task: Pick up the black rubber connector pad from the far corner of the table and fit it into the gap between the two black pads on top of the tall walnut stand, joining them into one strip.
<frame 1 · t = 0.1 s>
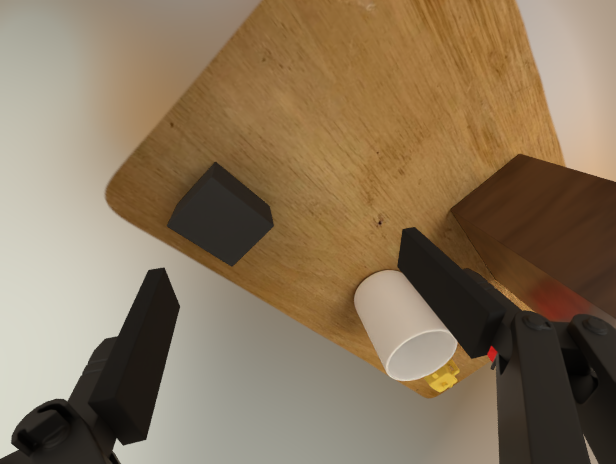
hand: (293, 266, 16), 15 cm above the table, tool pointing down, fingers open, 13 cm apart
teapot: (431, 357, 52), on the table
mug: (390, 290, 40), on the table
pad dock: (505, 225, 38), on the table
connector pad: (224, 205, 29), on the table
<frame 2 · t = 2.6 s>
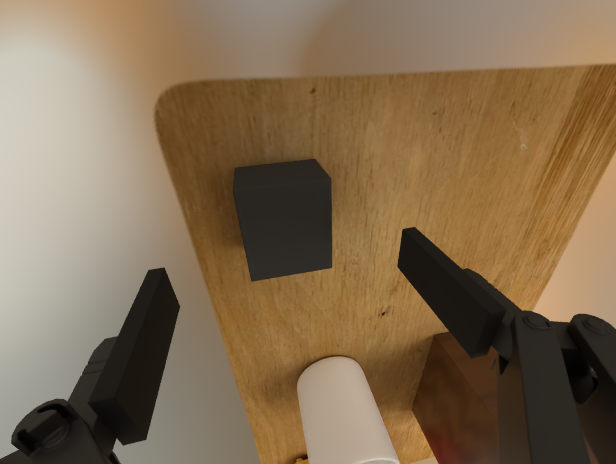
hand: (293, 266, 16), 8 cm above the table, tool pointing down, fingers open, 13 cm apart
teapot: (310, 459, 47), on the table
mug: (336, 378, 36), on the table
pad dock: (452, 369, 41), on the table
connector pad: (280, 206, 22), on the table
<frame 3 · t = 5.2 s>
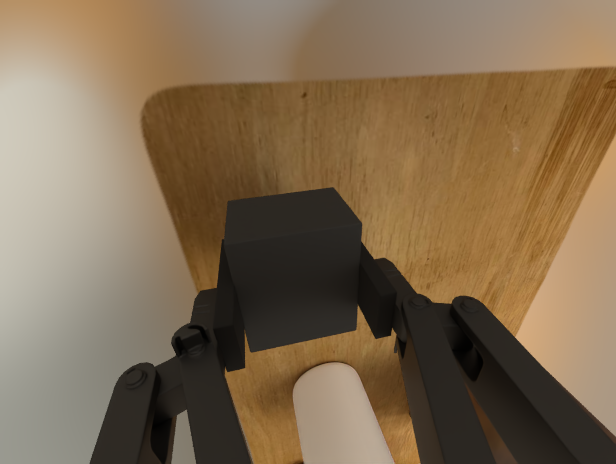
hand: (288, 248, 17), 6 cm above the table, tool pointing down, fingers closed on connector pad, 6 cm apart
mug: (332, 384, 36), on the table
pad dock: (449, 372, 41), on the table
connector pad: (287, 245, 17), point 5 cm above the table, touching gripper
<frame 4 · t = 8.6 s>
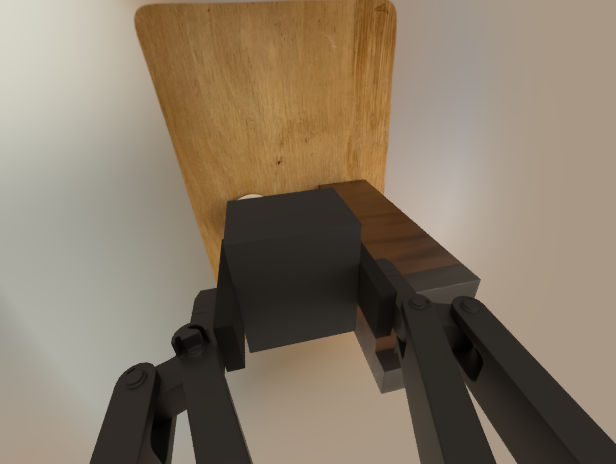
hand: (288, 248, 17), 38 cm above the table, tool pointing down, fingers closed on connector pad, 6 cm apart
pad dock: (341, 220, 62), on the table
connector pad: (287, 245, 17), point 38 cm above the table, touching gripper
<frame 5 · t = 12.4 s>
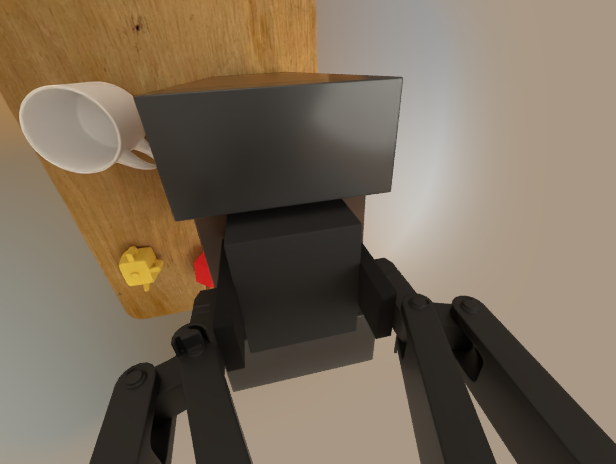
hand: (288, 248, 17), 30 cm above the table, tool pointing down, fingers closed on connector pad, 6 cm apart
teapot: (149, 257, 49), on the table
apple: (215, 256, 51), on the table
mug: (126, 126, 38), on the table
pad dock: (259, 141, 43), on the table
connector pad: (287, 246, 17), point 30 cm above the table, touching gripper, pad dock
when the fingers open (30 cm above the table, at t = 12.4 s): connector pad stays where it is, resting on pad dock.
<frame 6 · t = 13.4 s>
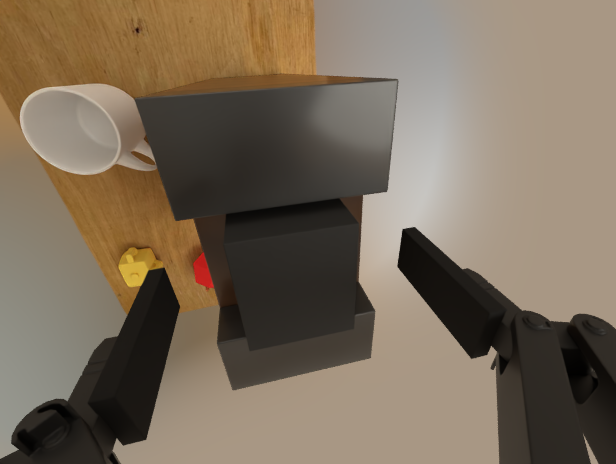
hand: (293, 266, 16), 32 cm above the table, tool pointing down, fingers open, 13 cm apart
teapot: (148, 258, 49), on the table
apple: (214, 257, 51), on the table
mug: (126, 127, 38), on the table
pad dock: (258, 142, 43), on the table
connector pad: (286, 245, 18), point 30 cm above the table, touching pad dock
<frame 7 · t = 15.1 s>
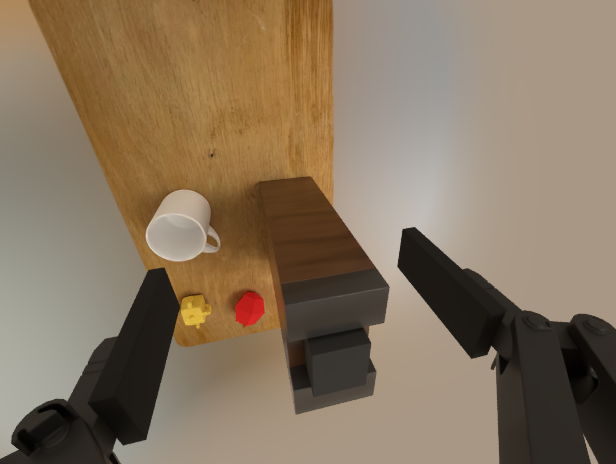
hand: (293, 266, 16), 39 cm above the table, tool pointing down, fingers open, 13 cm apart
teapot: (198, 301, 63), on the table
apple: (248, 299, 66), on the table
mug: (195, 214, 53), on the table
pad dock: (288, 220, 58), on the table
connector pad: (329, 336, 32), point 30 cm above the table, touching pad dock
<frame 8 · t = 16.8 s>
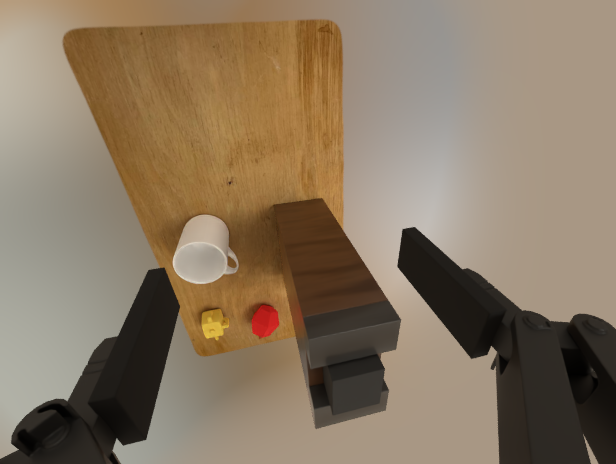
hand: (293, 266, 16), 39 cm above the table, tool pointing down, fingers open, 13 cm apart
teapot: (217, 314, 67), on the table
apple: (263, 311, 69), on the table
mug: (214, 236, 56), on the table
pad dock: (301, 238, 61), on the table
connector pad: (345, 358, 36), point 30 cm above the table, touching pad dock
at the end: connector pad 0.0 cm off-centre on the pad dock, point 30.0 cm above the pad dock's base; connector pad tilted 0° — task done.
